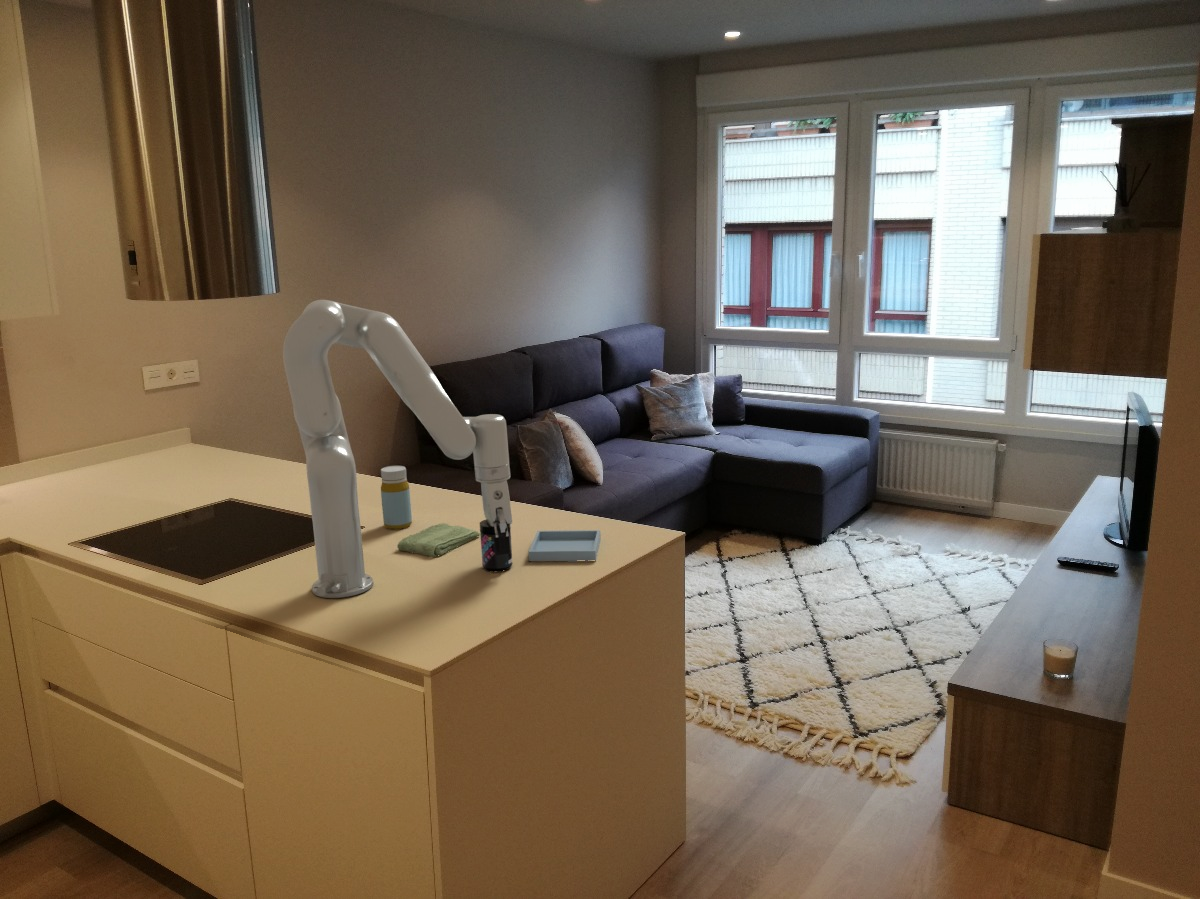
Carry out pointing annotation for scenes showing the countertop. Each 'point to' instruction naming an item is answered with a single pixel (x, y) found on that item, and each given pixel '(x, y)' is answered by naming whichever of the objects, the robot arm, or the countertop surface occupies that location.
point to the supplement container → (493, 549)
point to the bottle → (395, 497)
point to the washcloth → (437, 539)
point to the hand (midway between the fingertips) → (498, 546)
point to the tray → (565, 545)
